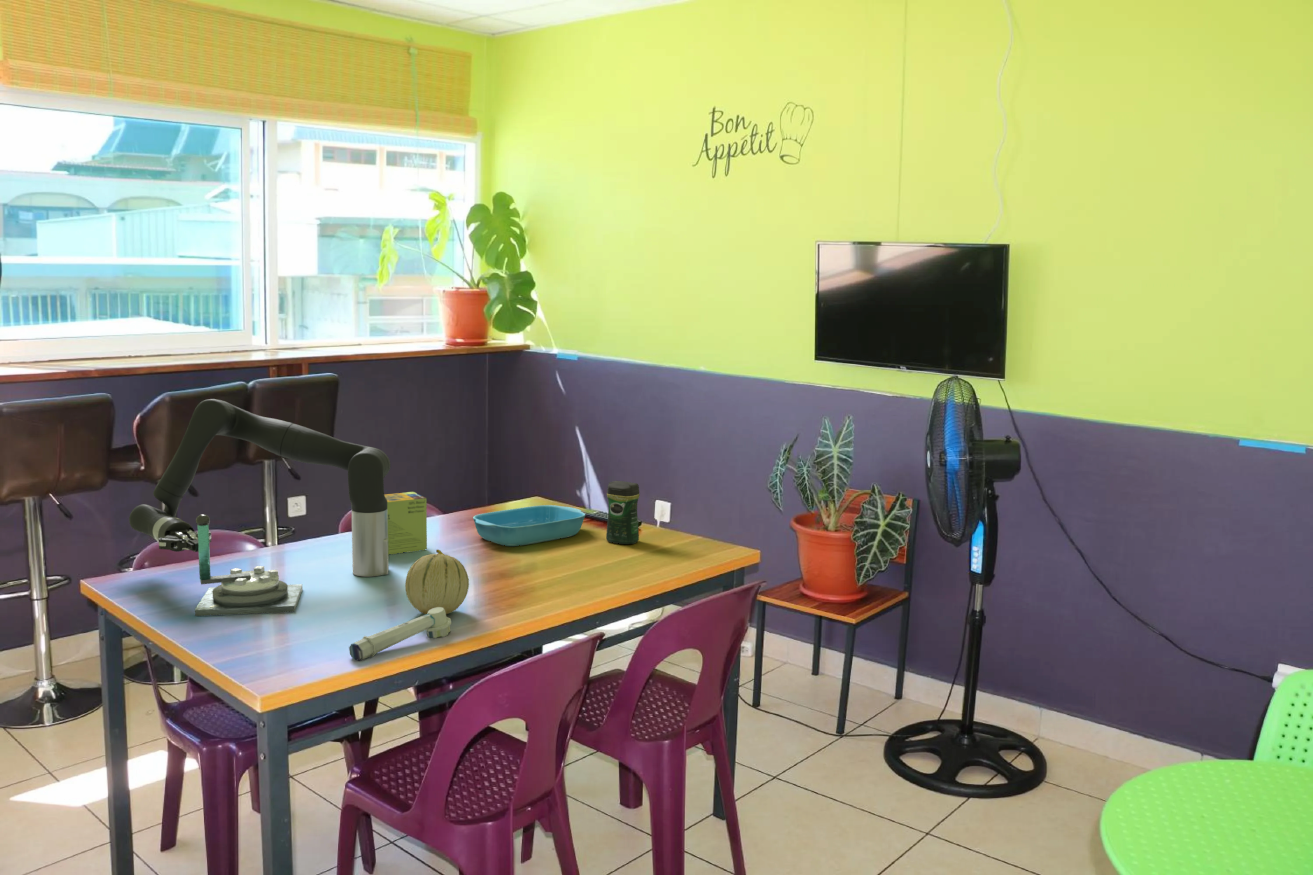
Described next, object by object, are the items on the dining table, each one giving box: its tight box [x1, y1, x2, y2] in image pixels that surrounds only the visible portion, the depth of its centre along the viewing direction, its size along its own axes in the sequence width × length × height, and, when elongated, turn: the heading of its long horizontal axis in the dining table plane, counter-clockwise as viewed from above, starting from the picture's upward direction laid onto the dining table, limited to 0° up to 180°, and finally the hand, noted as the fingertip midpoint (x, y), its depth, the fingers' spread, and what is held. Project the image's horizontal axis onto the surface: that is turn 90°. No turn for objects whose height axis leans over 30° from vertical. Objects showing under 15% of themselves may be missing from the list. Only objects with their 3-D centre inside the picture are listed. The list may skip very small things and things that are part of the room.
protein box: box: [384, 491, 428, 556], centre depth 313 cm, size 10×15×16 cm
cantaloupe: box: [404, 549, 470, 615], centre depth 256 cm, size 15×15×15 cm
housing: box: [194, 580, 303, 617], centre depth 262 cm, size 22×18×4 cm
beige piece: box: [348, 607, 452, 662], centre depth 235 cm, size 5×7×25 cm
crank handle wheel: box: [195, 513, 280, 596], centre depth 259 cm, size 18×13×19 cm
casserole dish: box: [472, 504, 586, 547], centre depth 333 cm, size 37×22×7 cm, turn 134°
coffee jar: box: [605, 480, 641, 545], centre depth 328 cm, size 10×8×19 cm
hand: (198, 547), depth 258 cm, fingers closed
